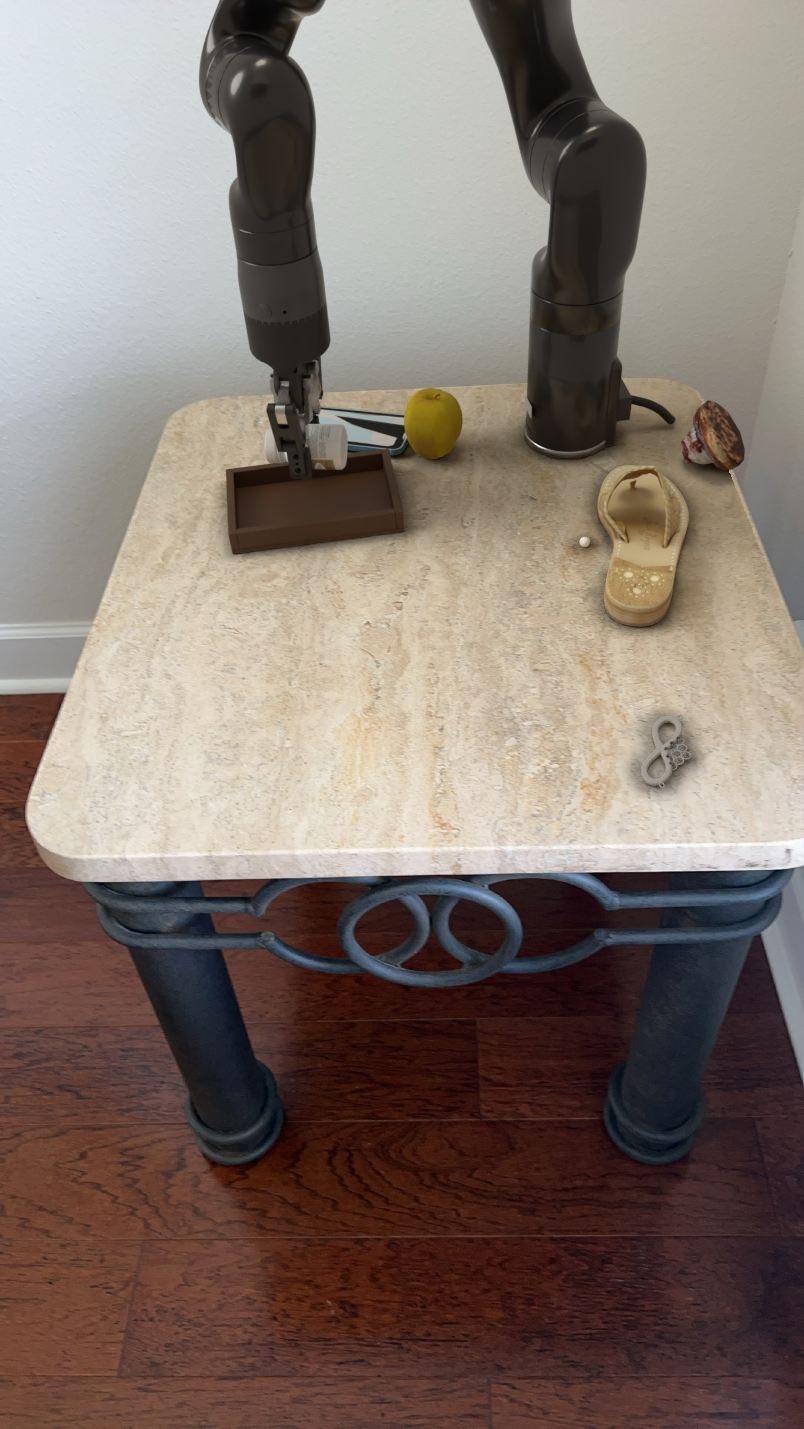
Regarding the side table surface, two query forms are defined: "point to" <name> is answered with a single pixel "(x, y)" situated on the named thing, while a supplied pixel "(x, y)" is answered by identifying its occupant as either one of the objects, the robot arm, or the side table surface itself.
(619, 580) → the sandal
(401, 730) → the side table surface
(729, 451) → the pastry
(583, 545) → the sphere
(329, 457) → the pill bottle
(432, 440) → the apple
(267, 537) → the tray
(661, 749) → the charm
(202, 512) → the side table surface
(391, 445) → the smartphone
